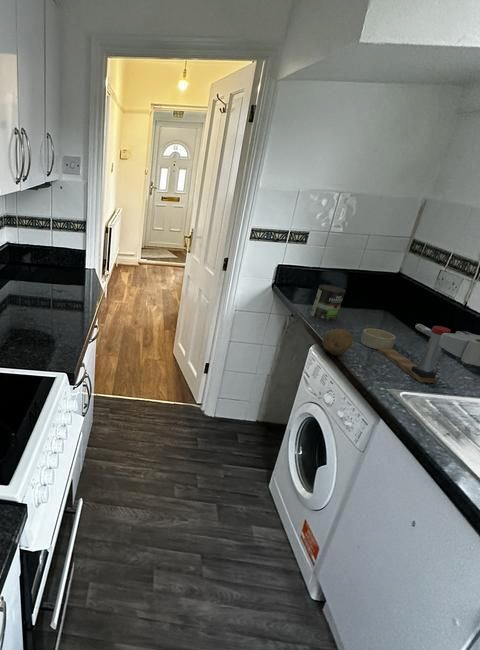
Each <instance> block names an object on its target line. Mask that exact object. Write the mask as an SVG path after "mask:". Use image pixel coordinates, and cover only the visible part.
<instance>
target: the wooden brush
mask: <svg viewBox="0 0 480 650" xmlns="http://www.w3.org/2000/svg"><path fill="white" fill-rule="evenodd" d="M377 352H379V354H381V355H382V356H384V357H385V358H386V359H388V360H389V361H390V362H392V363H393V364H394V365H395V366H397V367H398V368H400V369H401V370H402V371H404V372H405V373H407V375H409V376H411V377H412V378H414V379H415V380H417V382H419V383H425V384H426V383H427V384H437V381H438V378H437V377H435V378H431V377H420V376H419V375H417V374H416V373H414V372H413V371H412V370H411V369H412V367H413V366H417V367H418V366H419V365H417V364H416V363H414V362H413V361H411V360H409V359H408V358H407V357H405V356H404V355H402V354H401V353H400V352H398V351H396V350H395V349H394V348H392V349H386V348H379V349H377Z"/></svg>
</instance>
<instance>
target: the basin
mask: <svg viewBox="0 0 480 650" xmlns="http://www.w3.org/2000/svg"><path fill="white" fill-rule="evenodd" d="M396 338H397V337H396V336H395V335H394V334H393V333H392V332H389V331H386V330H384V329H379V328H372V327H371V328H365V329H363V331H362V334H361V337H360V340H359V341H360V343H361V344H362V345H364V346H365V347H368V348H371V349H374V350H378V349H379V348H386V349H393V346H394V344H395V341H396Z"/></svg>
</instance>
